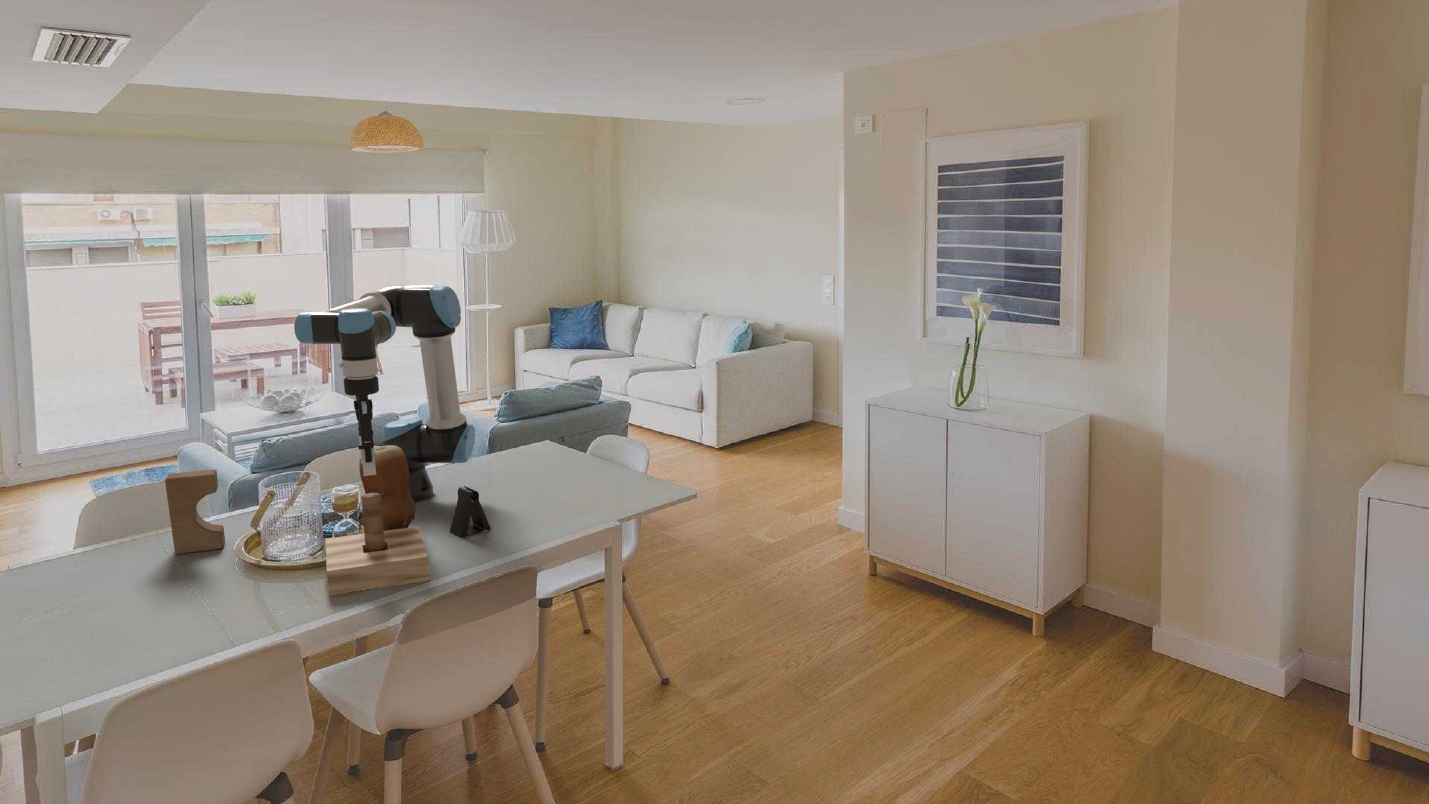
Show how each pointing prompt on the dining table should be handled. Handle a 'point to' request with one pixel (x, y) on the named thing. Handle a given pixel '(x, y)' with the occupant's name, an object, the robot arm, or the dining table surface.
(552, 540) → the dining table surface
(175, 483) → the decorative block
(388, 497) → the butternut squash
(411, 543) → the seat block
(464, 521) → the black a-frame stand
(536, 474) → the dining table surface
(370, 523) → the leg
